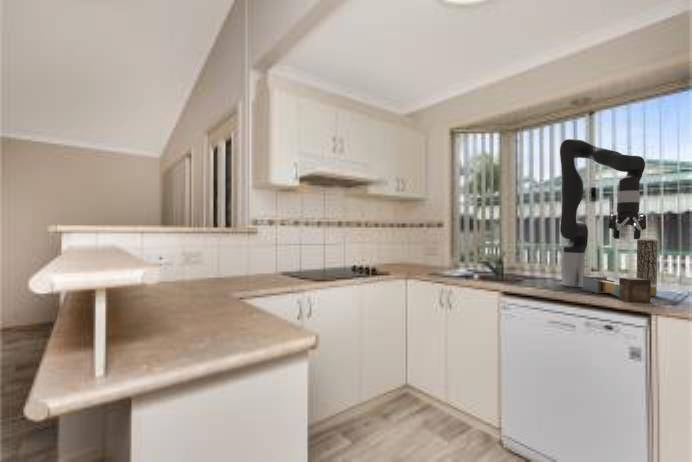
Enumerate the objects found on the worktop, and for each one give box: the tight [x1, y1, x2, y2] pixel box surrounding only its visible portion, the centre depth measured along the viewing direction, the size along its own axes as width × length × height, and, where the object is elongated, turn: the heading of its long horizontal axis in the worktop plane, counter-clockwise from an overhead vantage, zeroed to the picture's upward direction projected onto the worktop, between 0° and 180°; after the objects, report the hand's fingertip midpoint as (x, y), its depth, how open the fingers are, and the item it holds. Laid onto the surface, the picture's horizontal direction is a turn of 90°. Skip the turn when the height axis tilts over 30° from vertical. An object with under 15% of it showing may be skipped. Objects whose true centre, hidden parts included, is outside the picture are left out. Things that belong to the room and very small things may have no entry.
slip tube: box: [601, 281, 619, 296], centre depth 144 cm, size 19×4×4 cm, turn 0°
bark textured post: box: [635, 238, 659, 297], centre depth 150 cm, size 7×7×25 cm
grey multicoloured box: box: [581, 274, 616, 294], centre depth 156 cm, size 10×8×7 cm
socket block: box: [618, 277, 652, 303], centre depth 136 cm, size 5×8×9 cm, turn 90°
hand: (626, 239), depth 147 cm, fingers open, 8 cm apart
